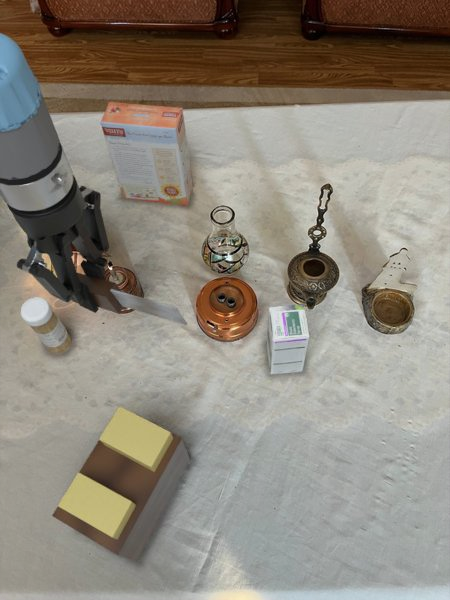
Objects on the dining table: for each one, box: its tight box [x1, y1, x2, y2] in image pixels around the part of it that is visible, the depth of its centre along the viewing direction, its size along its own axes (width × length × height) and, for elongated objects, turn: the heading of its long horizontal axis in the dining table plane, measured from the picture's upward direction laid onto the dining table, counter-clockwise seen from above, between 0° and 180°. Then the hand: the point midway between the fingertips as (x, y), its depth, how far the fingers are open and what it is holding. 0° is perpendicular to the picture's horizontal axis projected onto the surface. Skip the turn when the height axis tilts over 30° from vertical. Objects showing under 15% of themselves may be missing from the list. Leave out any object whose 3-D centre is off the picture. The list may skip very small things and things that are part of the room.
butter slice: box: [57, 471, 136, 540], centre depth 66 cm, size 8×4×3 cm, turn 63°
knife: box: [77, 272, 188, 326], centre depth 70 cm, size 21×2×4 cm, turn 63°
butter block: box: [98, 405, 173, 472], centre depth 69 cm, size 8×5×3 cm, turn 63°
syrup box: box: [266, 303, 310, 375], centre depth 85 cm, size 6×6×14 cm
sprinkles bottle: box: [20, 296, 73, 355], centre depth 88 cm, size 5×5×14 cm
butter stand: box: [51, 432, 192, 562], centre depth 75 cm, size 10×16×14 cm, turn 153°
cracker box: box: [100, 101, 194, 206], centre depth 102 cm, size 14×6×21 cm, turn 80°
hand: (95, 298), depth 75 cm, fingers closed on knife, 2 cm apart
